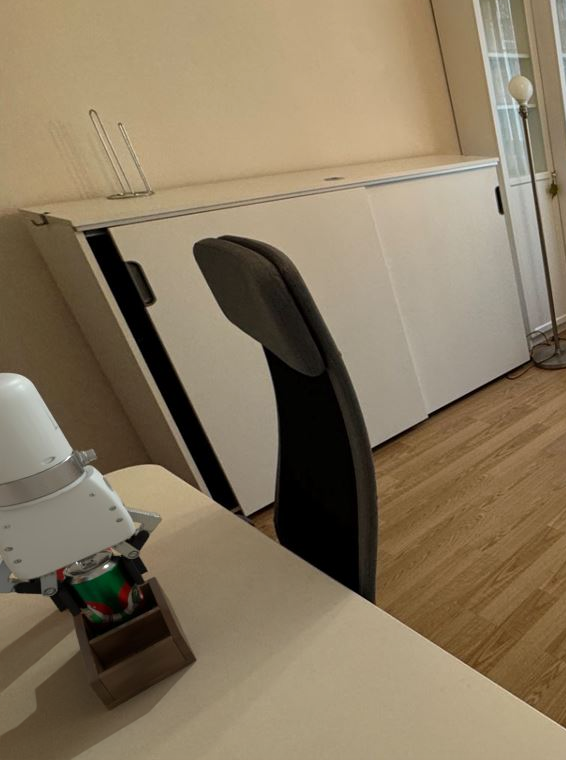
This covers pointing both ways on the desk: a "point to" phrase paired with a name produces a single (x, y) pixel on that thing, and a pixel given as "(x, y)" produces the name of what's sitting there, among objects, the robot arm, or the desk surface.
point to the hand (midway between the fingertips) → (108, 593)
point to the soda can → (105, 590)
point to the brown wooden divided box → (134, 649)
